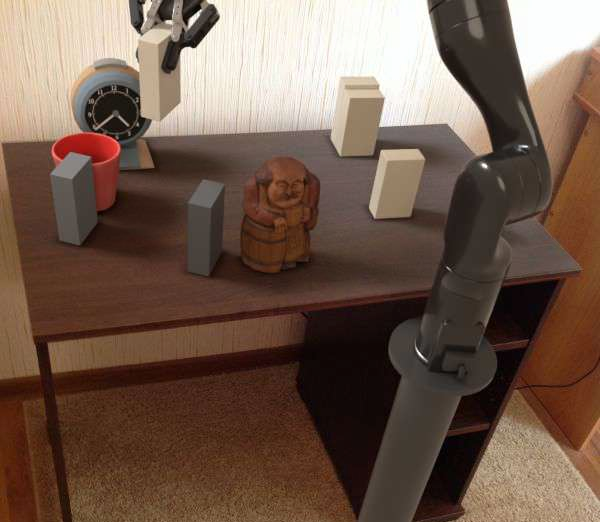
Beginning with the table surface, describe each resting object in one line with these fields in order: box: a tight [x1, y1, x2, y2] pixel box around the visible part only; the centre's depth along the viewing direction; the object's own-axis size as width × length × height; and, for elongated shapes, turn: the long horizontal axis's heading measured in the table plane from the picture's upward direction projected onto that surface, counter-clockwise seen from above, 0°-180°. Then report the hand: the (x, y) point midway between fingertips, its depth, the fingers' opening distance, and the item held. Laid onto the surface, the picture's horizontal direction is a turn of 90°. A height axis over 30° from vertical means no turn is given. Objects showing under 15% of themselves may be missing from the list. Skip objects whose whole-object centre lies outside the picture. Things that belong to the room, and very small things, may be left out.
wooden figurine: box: [239, 155, 321, 274], centre depth 117 cm, size 12×6×18 cm, turn 119°
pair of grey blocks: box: [49, 152, 226, 277], centre depth 117 cm, size 7×25×13 cm, turn 77°
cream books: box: [330, 76, 426, 220], centre depth 141 cm, size 29×7×13 cm, turn 15°
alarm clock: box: [69, 57, 155, 171], centre depth 133 cm, size 14×10×18 cm
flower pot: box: [51, 132, 121, 212], centre depth 126 cm, size 11×11×10 cm
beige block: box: [137, 22, 182, 123], centre depth 107 cm, size 7×3×11 cm, turn 162°
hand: (153, 67), depth 105 cm, fingers closed on beige block, 3 cm apart
